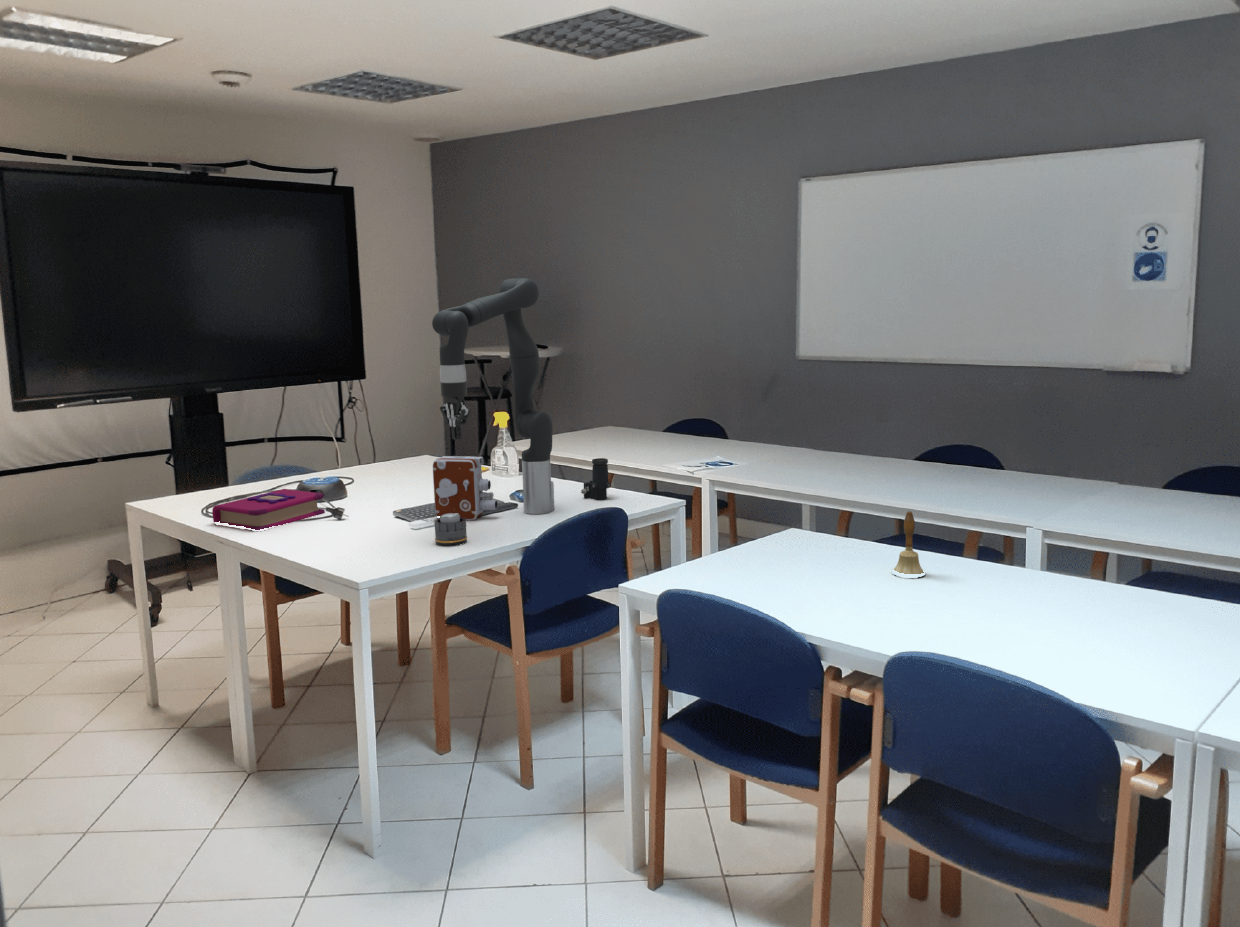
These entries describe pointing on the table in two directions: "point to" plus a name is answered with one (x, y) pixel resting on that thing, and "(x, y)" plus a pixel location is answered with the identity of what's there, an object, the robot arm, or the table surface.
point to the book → (269, 509)
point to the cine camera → (461, 487)
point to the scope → (597, 481)
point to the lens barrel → (450, 533)
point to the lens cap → (450, 518)
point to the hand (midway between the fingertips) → (456, 439)
